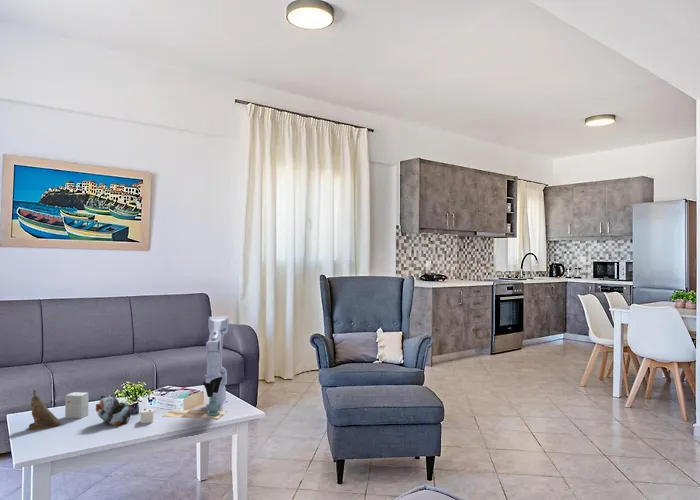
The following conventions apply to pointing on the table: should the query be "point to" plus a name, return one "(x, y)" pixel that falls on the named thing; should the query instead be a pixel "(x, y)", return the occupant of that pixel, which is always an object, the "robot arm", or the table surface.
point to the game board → (192, 414)
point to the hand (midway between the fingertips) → (212, 394)
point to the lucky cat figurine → (113, 410)
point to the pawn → (213, 407)
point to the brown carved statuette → (41, 415)
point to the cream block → (147, 415)
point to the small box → (76, 405)
